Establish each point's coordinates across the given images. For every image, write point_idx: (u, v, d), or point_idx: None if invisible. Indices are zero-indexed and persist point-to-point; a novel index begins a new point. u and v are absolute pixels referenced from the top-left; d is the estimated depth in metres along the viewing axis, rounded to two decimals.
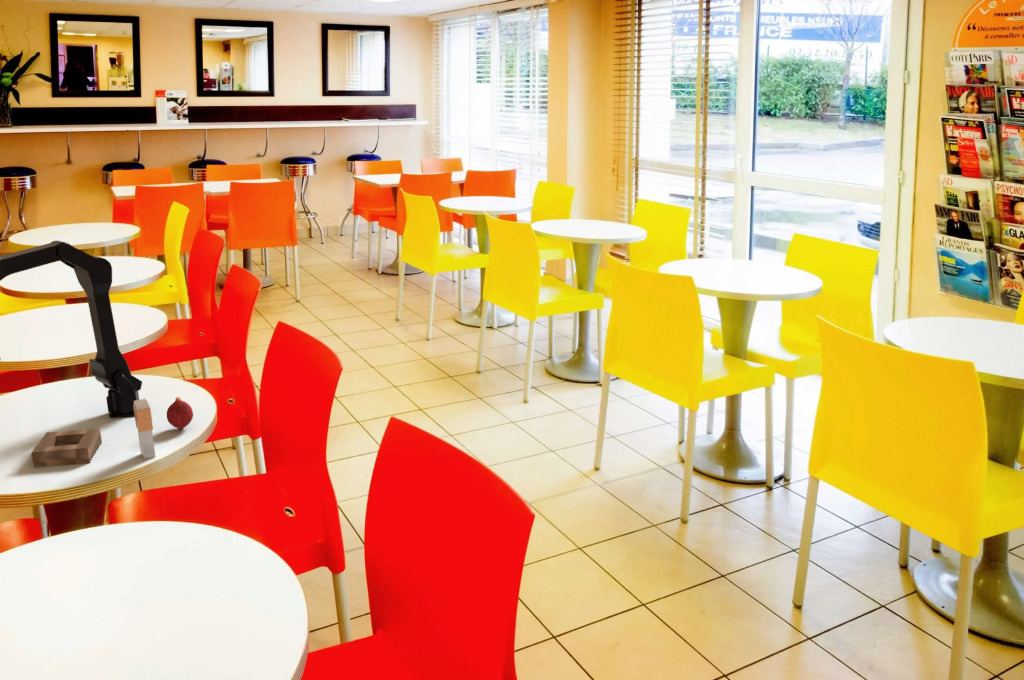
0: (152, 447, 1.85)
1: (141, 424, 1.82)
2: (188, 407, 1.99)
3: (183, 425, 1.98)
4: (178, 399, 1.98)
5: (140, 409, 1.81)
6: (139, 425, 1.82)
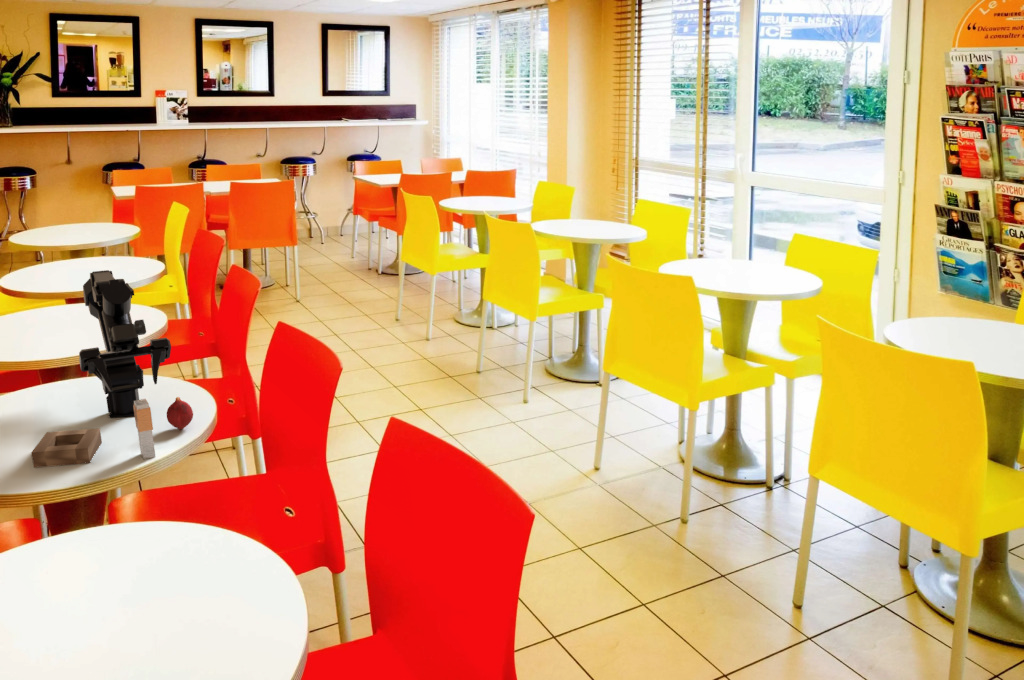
0: (152, 447, 1.85)
1: (141, 424, 1.82)
2: (188, 407, 1.99)
3: (183, 425, 1.98)
4: (178, 399, 1.98)
5: (140, 409, 1.81)
6: (139, 425, 1.82)
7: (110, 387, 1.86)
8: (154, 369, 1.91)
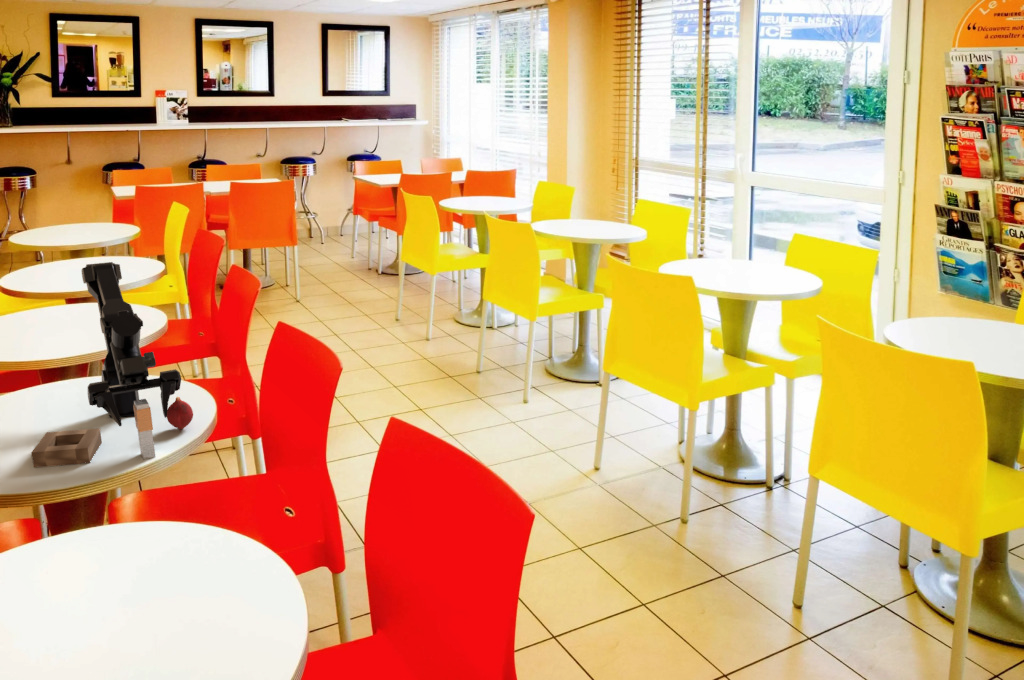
0: (152, 447, 1.85)
1: (141, 424, 1.82)
2: (188, 407, 1.99)
3: (183, 425, 1.98)
4: (178, 399, 1.98)
5: (140, 409, 1.81)
6: (139, 425, 1.82)
7: (119, 422, 1.81)
8: (164, 402, 1.87)
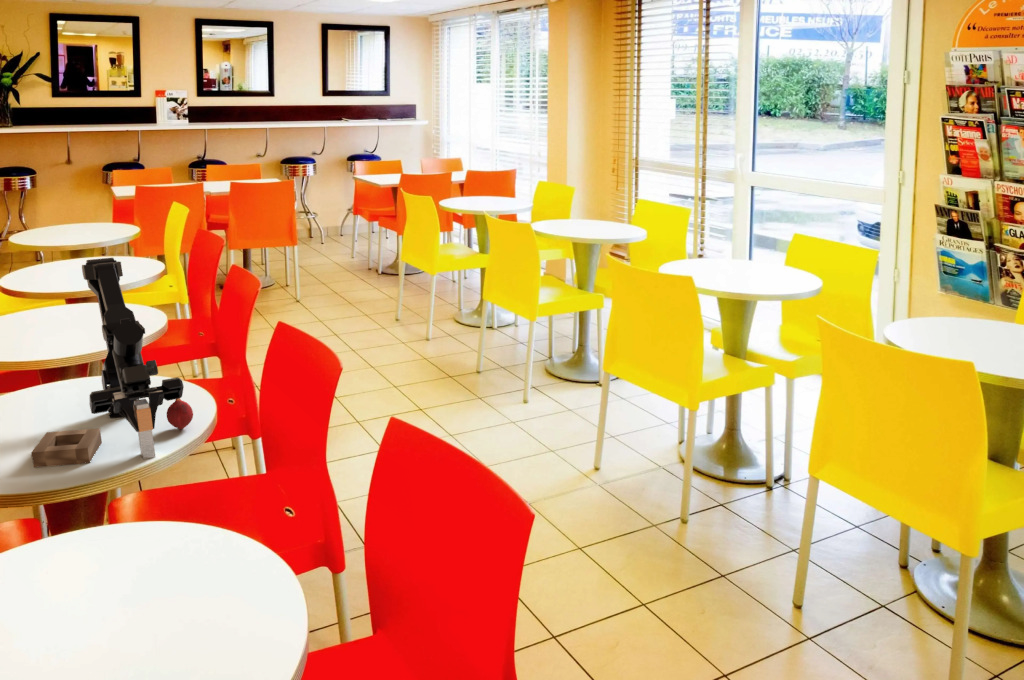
0: (152, 447, 1.85)
1: (141, 424, 1.82)
2: (188, 407, 1.99)
3: (183, 425, 1.98)
4: (178, 399, 1.98)
5: (140, 409, 1.81)
6: (139, 425, 1.82)
7: (137, 427, 1.82)
8: (152, 413, 1.84)
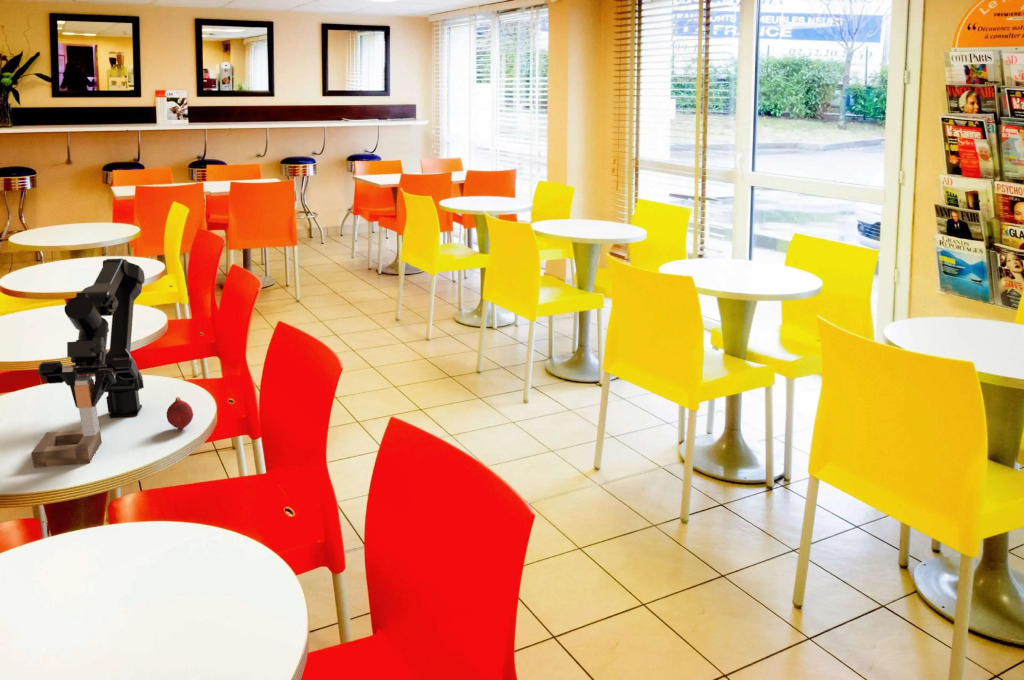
0: (92, 425, 1.82)
1: (79, 400, 1.79)
2: (188, 407, 1.99)
3: (183, 425, 1.98)
4: (178, 399, 1.98)
5: (79, 385, 1.79)
6: (77, 401, 1.79)
7: (76, 403, 1.80)
8: (94, 391, 1.81)
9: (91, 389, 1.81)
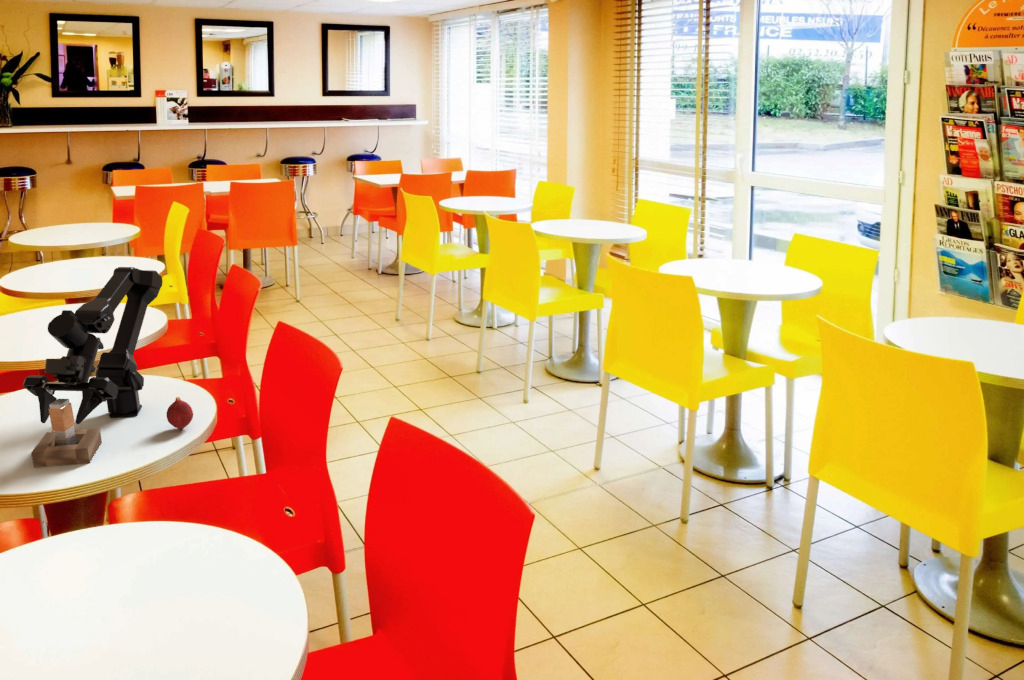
0: None
1: (53, 423, 1.82)
2: (188, 407, 1.99)
3: (183, 425, 1.98)
4: (178, 399, 1.98)
5: (53, 408, 1.81)
6: (52, 424, 1.82)
7: (41, 419, 1.83)
8: (79, 408, 1.83)
9: (66, 413, 1.83)
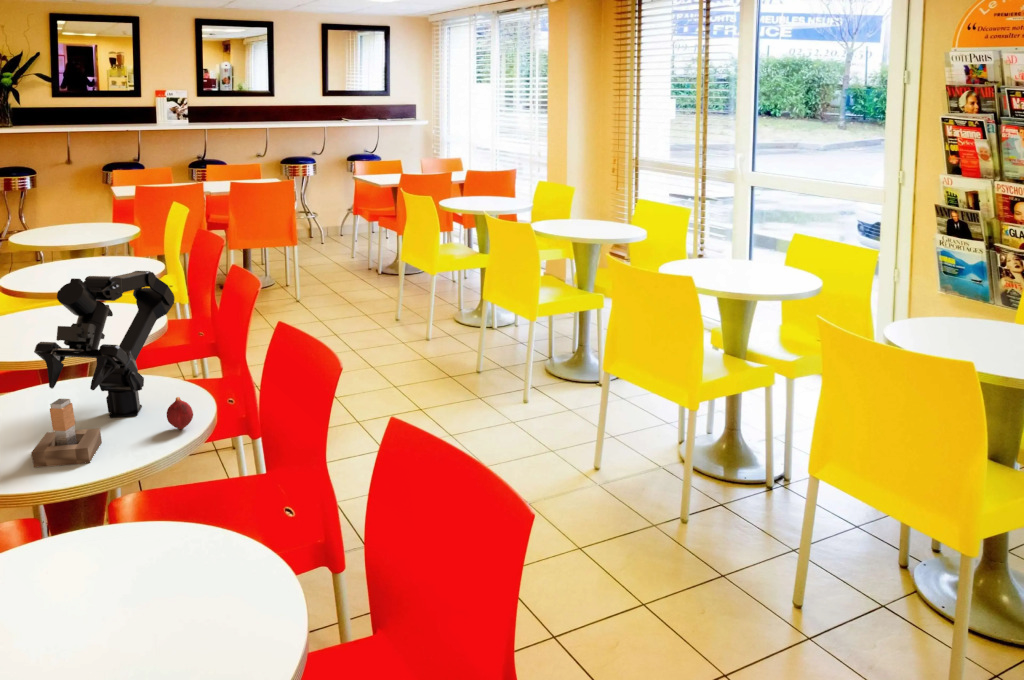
0: None
1: (54, 423, 1.82)
2: (188, 407, 1.99)
3: (183, 425, 1.98)
4: (178, 399, 1.98)
5: (54, 408, 1.82)
6: (53, 424, 1.82)
7: (50, 384, 1.87)
8: (94, 375, 1.88)
9: (67, 413, 1.83)
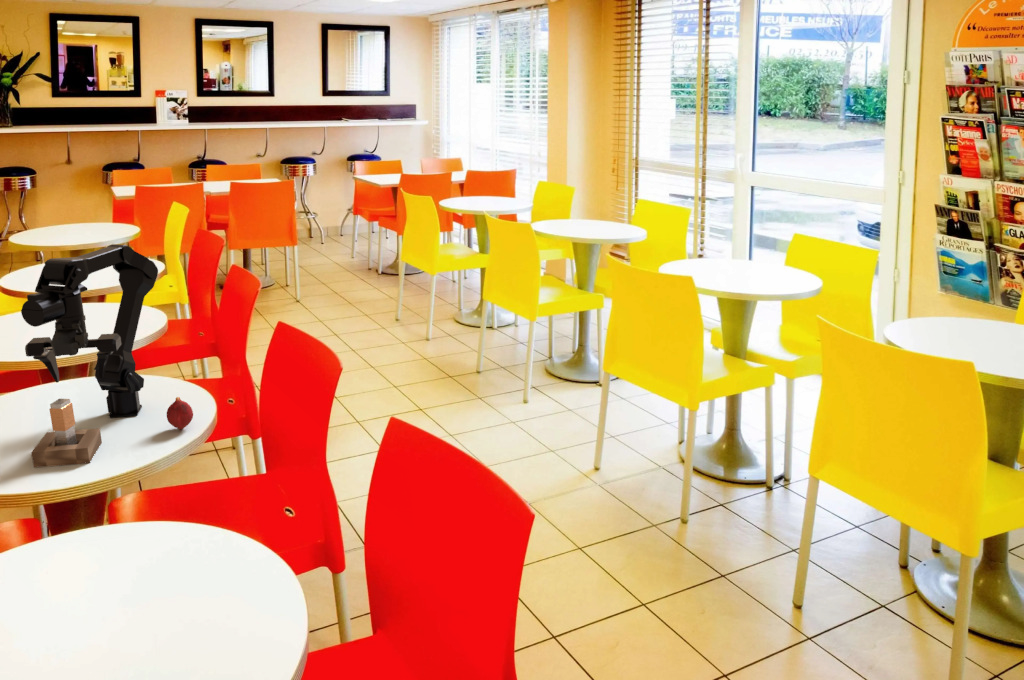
0: None
1: (54, 423, 1.82)
2: (188, 407, 1.99)
3: (183, 425, 1.98)
4: (178, 399, 1.98)
5: (54, 408, 1.82)
6: (52, 424, 1.82)
7: (56, 380, 1.92)
8: (99, 368, 1.93)
9: (67, 413, 1.83)
